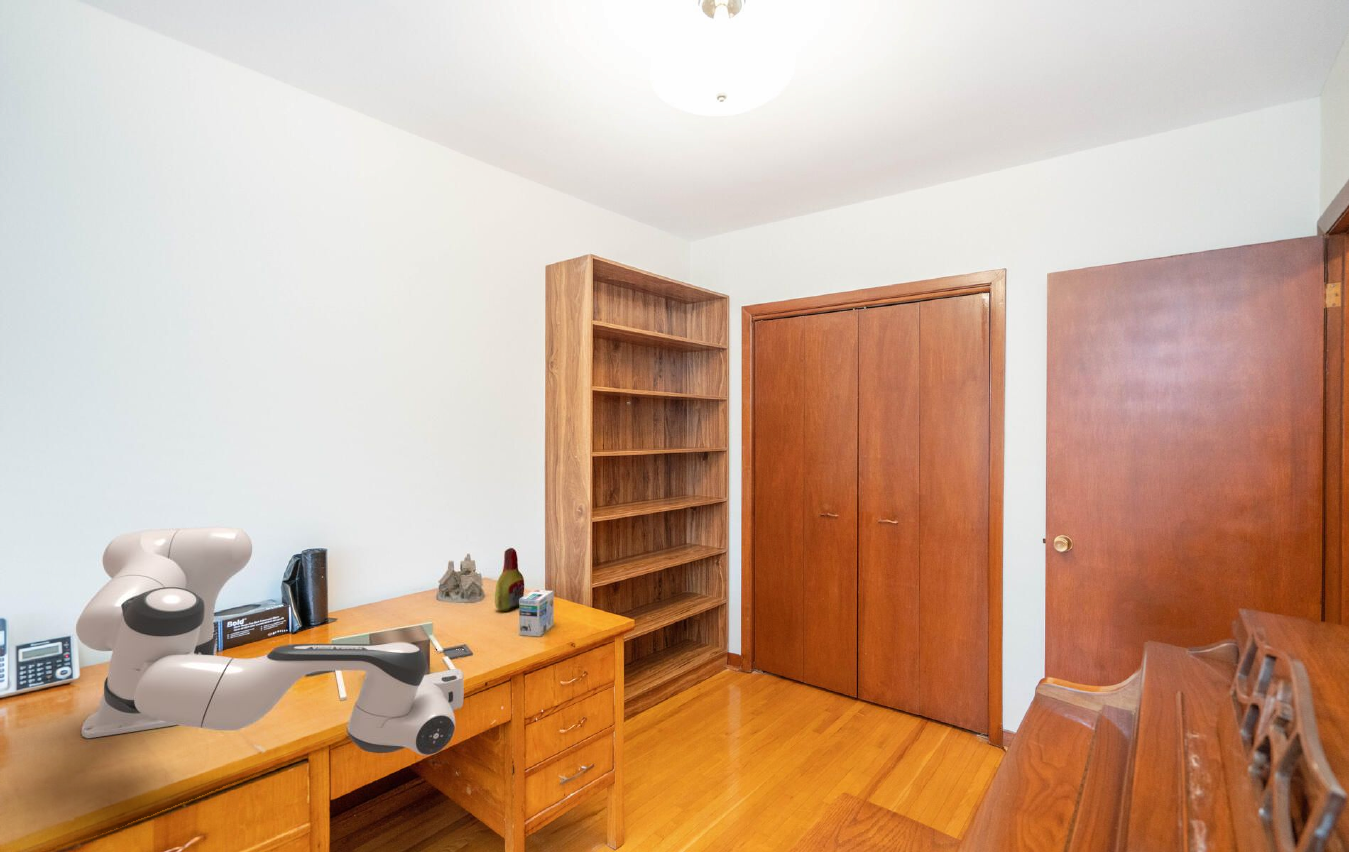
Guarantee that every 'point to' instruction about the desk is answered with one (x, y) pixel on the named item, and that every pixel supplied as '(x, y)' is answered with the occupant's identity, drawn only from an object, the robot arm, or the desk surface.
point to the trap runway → (364, 638)
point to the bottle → (509, 583)
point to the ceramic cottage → (461, 583)
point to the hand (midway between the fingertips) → (408, 677)
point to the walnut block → (405, 639)
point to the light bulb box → (536, 613)
